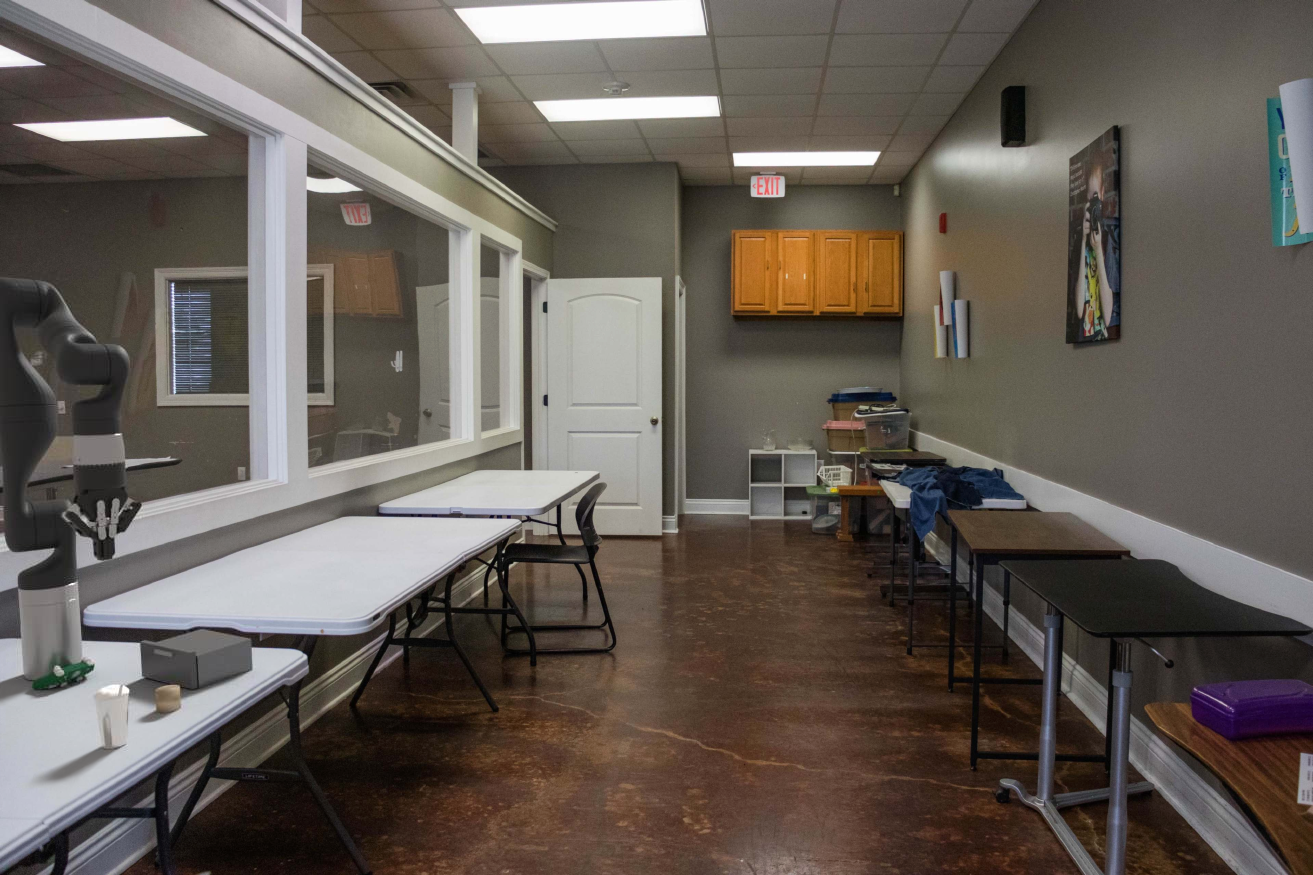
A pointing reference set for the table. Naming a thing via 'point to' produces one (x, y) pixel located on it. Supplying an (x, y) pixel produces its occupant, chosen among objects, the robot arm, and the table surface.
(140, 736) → the table surface
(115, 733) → the milkshake
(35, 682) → the green toy
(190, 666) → the grey drawer
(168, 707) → the tan short cylinder
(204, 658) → the gray drawer box
